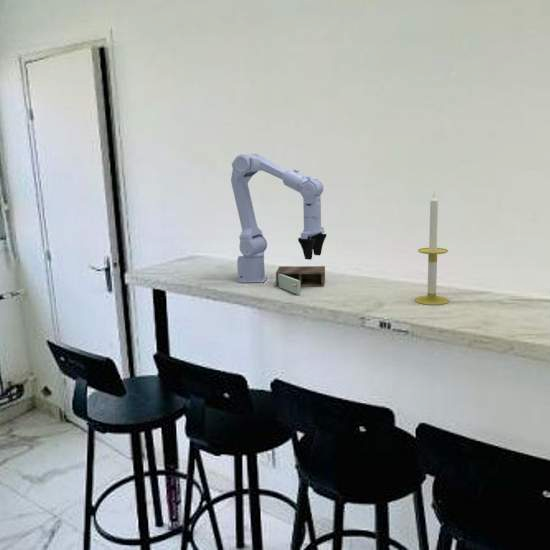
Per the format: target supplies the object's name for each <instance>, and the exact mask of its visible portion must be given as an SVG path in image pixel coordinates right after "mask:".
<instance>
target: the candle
mask: <svg viewBox="0 0 550 550" xmlns="http://www.w3.org/2000/svg"><path fill="white" fill-rule="evenodd" d="M429 205H430V206H429V237H428V238H429V239H428V240H429V242H428V245H429V246H428V247H422V248H418V250H417V252H418V253H421V254H427V257H428V259H427V260H428V261H427V264H428V265H427V295H421V296H416V297H415V298H414V302H415V303H418V304H420V305H426V306H441V305H446V304H448V303H450V300H449V299H448V298H447V297H444V296H440V295H437V273H438V255H442V254H446V253H448V252H449V250H448V249H447V248H443V247H438V246H437V245H438V218H439V217H438V215H439V214H438V212H439V211H438V210H439V207H438V206H439V200H438V198H437V196H436V193H435V191H433V194H432V198H431V199H430V200H429Z"/></svg>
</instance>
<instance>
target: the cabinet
mask: <svg viewBox="0 0 550 550" xmlns="http://www.w3.org/2000/svg"><path fill="white" fill-rule="evenodd" d="M278 274H283V275H286V276H288V277H291V278H294V279H297V280H299V281H300V287H301V288H323V287H325V283H326V266H325V265H320V266H319V265H317V266H315V265H313V266H311V265H309V266H306V265H305V266H304V265H303V266H300V265H299V266H290V265H289V266H288V265H285V266H278V268H277V269H276V271H275V281H276V285H275V287H276V288H280V287H279V280H278Z"/></svg>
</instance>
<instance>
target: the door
mask: <svg viewBox="0 0 550 550" xmlns="http://www.w3.org/2000/svg"><path fill="white" fill-rule="evenodd" d="M278 280H279V287H278V288H280V289H283V290H285V291H288V292H290V293H293V294H295V295H297V296H300V295H301V292H302V291H301V288H302V287H300V281H299V280H297V279H294V278H291V277H288V276H286V275H283V274H278Z"/></svg>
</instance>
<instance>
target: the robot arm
mask: <svg viewBox="0 0 550 550" xmlns="http://www.w3.org/2000/svg"><path fill="white" fill-rule="evenodd" d="M231 167H232V172H231V178H230V181H231V182H230V183H231V187H232V192H233V196H234V201H235V204H236V208H237V209H236V210H237V213H238V218H239V222H240V227H241V232H240V235H239V245H238V246H239V251H240V253H241V254H242V255H239V256H238V257H237V260H236V261H237V267H236V268H237V283H265V282H266V280H267V279H268V276H265V275H266V274H265V251H266V250H267V248H268V242H267V238H265V236H264V234H263V231H262V230H261V229H260V228H259V227H258V222H257V220H256V215H255V211H254V207H253V201H252V197H251V193H250V188H249V181H250V180H251V179H252V178H253V176H254V175H256V174H257V173H258V172H259V171H263V172H264V173H266V174H267V173H268V174H270V175H272V176H274V177H276V178H278V179H280V180H282V183H283V185H285V186H287V187H288V188H289V189H291V190H294V191H296V192H297V193H299V194H300V195H301V197H302V199H303V202H302V203H303V231H302V232H301V233H300V237H298V238H297V240H298V242H299V244H300V246H301V248H302V252H303V256H304V259H305V260H308V261H309V260H310V261H311V260H312V259H313V254H314V256H321V254H322V250H323V246H324V242H325V241H326V238H327V233H325V230H324V226H322V210H321V207H322V203H321V202H322V199H321V195H322V193H323V191H324V185H323V183H322V182H321V181H320V180H319V179H318V178H313V179H311V177H312V176H309V175H307V176H306V175H304V174H303V173H301V172H300V171H299V169H297V168H294V169H292V168H291V169H289V170H286V169H285V168H283V167H281V166H279V165H278V164H276V163H275V162H272V161H271V160H269V159H267V158H265V157H264V156H262V155H259V154H257V153H250V154H238V155H237V156H236V157H235V158H234V159H233V161H232V162H231Z"/></svg>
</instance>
